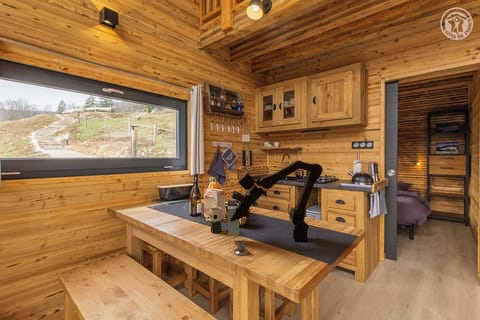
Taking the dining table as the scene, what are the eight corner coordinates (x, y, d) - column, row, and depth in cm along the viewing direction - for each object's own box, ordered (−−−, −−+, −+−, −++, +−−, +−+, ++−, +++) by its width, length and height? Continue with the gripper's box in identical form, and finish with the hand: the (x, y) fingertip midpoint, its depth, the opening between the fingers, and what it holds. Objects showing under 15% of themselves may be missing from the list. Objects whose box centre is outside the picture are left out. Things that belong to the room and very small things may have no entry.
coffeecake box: (203, 217, 155) (203, 189, 154) (212, 215, 160) (211, 187, 159) (217, 221, 144) (216, 191, 144) (225, 219, 149) (225, 190, 149)
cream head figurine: (204, 232, 125) (204, 209, 125) (212, 228, 131) (211, 206, 131) (220, 235, 120) (220, 211, 119) (227, 231, 126) (227, 208, 126)
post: (244, 248, 103) (244, 238, 103) (251, 253, 97) (250, 243, 97) (231, 250, 100) (231, 241, 100) (237, 256, 94) (237, 246, 94)
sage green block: (238, 231, 114) (238, 206, 114) (239, 235, 109) (238, 208, 108) (228, 231, 114) (227, 206, 113) (228, 235, 108) (227, 208, 108)
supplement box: (233, 227, 131) (233, 201, 131) (227, 226, 134) (227, 200, 134) (242, 224, 138) (242, 198, 138) (236, 222, 141) (236, 197, 141)
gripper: (240, 183, 120) (219, 204, 120) (241, 188, 101) (217, 213, 101) (254, 197, 120) (234, 218, 120) (259, 205, 102) (235, 229, 102)
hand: (230, 219), depth 111 cm, fingers closed on sage green block, 5 cm apart
